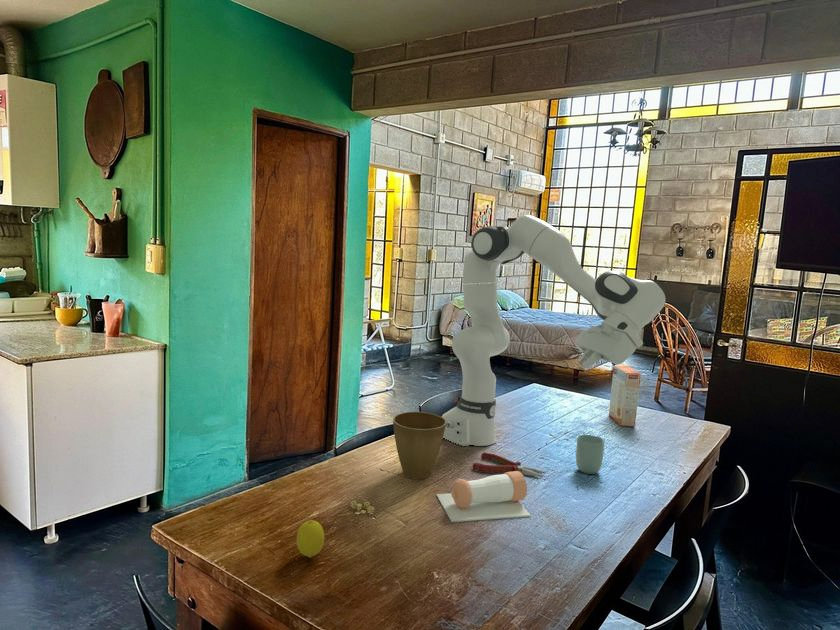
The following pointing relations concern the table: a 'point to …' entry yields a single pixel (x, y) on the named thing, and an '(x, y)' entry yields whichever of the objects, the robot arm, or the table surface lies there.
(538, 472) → the pliers
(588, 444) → the cup
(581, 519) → the table surface
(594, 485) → the table surface
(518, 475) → the pepper shaker
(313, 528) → the lemon
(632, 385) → the cracker box
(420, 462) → the plant pot
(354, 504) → the dice set
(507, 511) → the mat
